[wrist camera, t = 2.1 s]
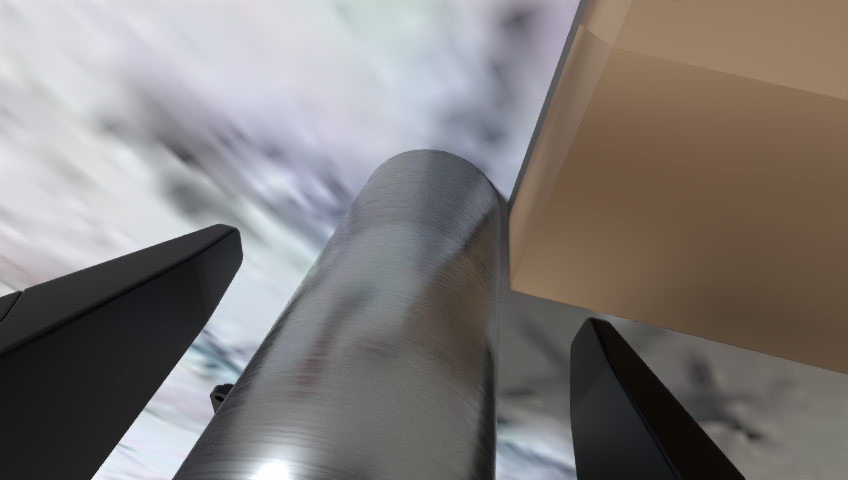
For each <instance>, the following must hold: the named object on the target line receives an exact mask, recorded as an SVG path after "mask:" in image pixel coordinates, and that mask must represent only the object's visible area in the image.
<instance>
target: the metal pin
mask: <svg viewBox="0 0 848 480" xmlns="http://www.w3.org/2000/svg"><path fill="white" fill-rule="evenodd" d="M500 223H501V215H500V205H499V200H498V198H497V195H496V192H495V190H494V188H493V186H492V185H491V183H490V182H489V180H488V179H487V178H486V176H485V175H484V174H483V173H482V172H481V171H480V170H479V169H477V168H476V167H475V166H474V165H472V164H471V163H469V162H468V161H466V160H464V159H463V158H460V157H458V156H456V155H454V154H450V153H447V152H444V151H438V150H427V149H422V150H413V151H408V152H404V153H401V154H399V155H396V156H394V157H392V158H390V159H388V160H387V161H386V162H384V163H383V164H382V165H380V166H379V167H378V168H377V169H376V170H375V172H374V173H373V174H372V176H371V177H370V179H369V180H368V182H367V183H366V185H365V186H364V188H363V189H362V191H361V192H360V194H359V195H358V197H357V199H356V200H355V202H354V203H353V205H352V206H351V208H350V209H349V211H348V212H347V214H346V215H345V217H344V218H343V220H342V221H341V223H340V224H339V226H338V227H337V229H336V231H335V232H334V234H333V235H332V237H331V238H330V240H329V241H328V243H327V244H326V246H325V247H324V249H323V250H322V252H321V253H320V255H319V256H318V258H317V259H316V261H315V263H314V264H313V266H312V267H311V269H310V270H309V272H308V273H307V275H306V276H305V278H304V279H303V281H302V282H301V284H300V285H299V287H298V288H297V290H296V291H295V293H294V294H293V296H292V298H291V299H290V301H289V302H288V304H287V305H286V307H285V308H284V310H283V311H282V313H281V314H280V316H279V317H278V319H277V320H276V322H275V323H274V325H273V326H272V328H271V330H270V331H269V333H268V334H267V336H266V337H265V339H264V340H263V342H262V343H261V345H260V346H259V348H258V349H257V351H256V352H255V354H254V355H253V357H252V358H251V360H250V362H249V363H248V365H247V366H246V368H245V369H244V371H243V372H242V374H241V375H240V377H239V378H238V380H237V381H236V383H235V384H234V386H233V387H232V389H231V390H230V392H229V394H228V395H227V397H226V398H225V400H224V401H223V403H222V404H221V406H220V407H219V409H218V410H217V412H216V413H215V415H214V416H213V418H212V419H211V421H210V422H209V424H208V426H207V427H206V429H205V430H204V432H203V433H202V435H201V436H200V438H199V439H198V441H197V442H196V444H195V445H194V447H193V448H192V450H191V451H190V453H189V454H188V456H187V457H186V459H185V461H184V462H183V464H182V465H181V467H180V468H179V470H178V471H177V473H176V474H175V476H174V477H173V479H172V480H496V441H497V386H498V332H499V277H500Z"/></svg>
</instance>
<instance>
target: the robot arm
mask: <svg viewBox="0 0 848 480" xmlns="http://www.w3.org/2000/svg"><path fill="white" fill-rule="evenodd" d="M242 260H243V251H242V244H241V236H240V232H239V230H238V229H237V228H236V227H232V226H229V225H225V224H216V225H213V226H210V227H207V228H204V229H201V230H198V231H195V232H192V233H190V234H187V235H184V236H181V237H178V238H175V239H172V240H169V241H166V242H163V243H160V244H157V245H154V246H151V247H148V248H145V249H142V250H139V251H136V252H133V253H130V254H127V255H124V256H121V257H118V258H115V259H112V260H109V261H106V262H103V263H100V264H97V265H94V266H92V267H89V268H86V269H83V270H80V271H77V272H74V273H71V274H68V275H65V276H62V277H59V278H56V279H53V280H50V281H47V282H44V283H41V284H38V285H35V286H32V287H29V288H26V289H25V290H24V291H17V292H14V293H11V294H8V295H5V296H2V297H0V480H91V479H92V478H93V476H94V475H95V474H96V472H97V471H98V470H99V468H100V467H101V465H102V464H103V463H104V461H105V460H106V459H107V457H108V456H109V455H110V453H111V452H112V451H113V449H114V448H115V447H116V445H117V444H118V443H119V441H120V440H121V438H122V437H123V436H124V434H125V433H126V432H127V430H128V429H129V428H130V426H131V425H132V424H133V422H134V421H135V420H136V418H137V417H138V416H139V414H140V413H141V411H142V410H143V409H144V407H145V406H146V405H147V403H148V402H149V401H150V399H151V398H152V397H153V395H154V394H155V393H156V391H157V390H158V389H159V387H160V386H161V384H162V383H163V382H164V380H165V379H166V378H167V376H168V375H169V374H170V372H171V371H172V370H173V368H174V367H175V366H176V364H177V363H178V362H179V360H180V359H181V357H182V356H183V355H184V353H185V352H186V351H187V349H188V348H189V347H190V345H191V344H192V343H193V341H194V340H195V339H196V337H197V336H198V335H199V333H200V332H201V330H202V329H203V328H204V326H205V325H206V323H207V322H208V321H209V319H210V317H211V316H212V314H213V313H214V311H215V309H216V307H217V306H218V304H219V302H220V301H221V299H222V297H223V295H224V294H225V292H226V290H227V289H228V287H229V285H230V283H231V282H232V280H233V278H234V277H235V275H236V273H237V271H238V270H239V268H240V266H241V264H242ZM231 389H232V388H231V387H227V386H223V385H217V386H216V387H215V388H214V390H213V391H212V392H211V394H210V398H211V401H212V405H213V409H214V412H215V413H216V412H217V410H218V409H219V407H220V406H221V404H222V403H223V401H224V400H225V398H226V397H227V395H228V394H229V392H230V390H231ZM570 417H571V428H572V437H573V447H574V456H575V465H576V474H577V480H746V479H745V477H744V476H743V475H742V474H741V473H740V472H739V471H738V469H737V468H736V467H735V466H734V465H733V464H732V462H731V461H730V460H729V459H728V458H727V457H726V456H725V454H724V453H723V452H722V451H721V450H720V449H719V448H718V446H717V445H716V444H715V443H714V442H713V441H712V440H711V438H710V437H709V436H708V435H707V434H706V433H705V431H704V430H703V429H702V428H701V427H700V426H699V425H698V423H697V422H696V421H695V420H694V419H693V418H692V417H691V415H690V414H689V413H688V412H687V411H686V410H685V408H684V407H683V406H682V405H681V404H680V403H679V402H678V400H677V399H676V398H675V397H674V396H673V395H672V394H671V392H670V391H669V390H668V389H667V388H666V387H665V385H664V384H663V383H662V382H661V381H660V380H659V379H658V377H657V376H656V375H655V374H654V373H653V372H652V371H651V369H650V368H649V367H648V366H647V365H646V364H645V362H644V361H643V360H642V359H641V358H640V357H639V356H638V354H637V353H636V352H635V351H634V350H633V349H632V348H631V346H630V345H629V344H628V343H627V342H626V341H625V339H624V338H623V337H622V336H621V335H620V334H619V333H618V331H617V330H616V329H615V328H614V327H613V326H612V325H611V324H610V323H609V322H608V321H606V320H602V319H598V318H594V317H589V318H587V319H586V320H585V322H584V323H583V325H582V327H581V328H580V330H579V331H578V333H577V334H576V336H575V338H574V339H573V341H572V344H571V350H570Z"/></svg>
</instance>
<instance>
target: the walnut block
mask: <svg viewBox="0 0 848 480" xmlns="http://www.w3.org/2000/svg"><path fill="white" fill-rule="evenodd" d="M508 223H509V290H513V291H517V292H521V293H525V294H529V295H533V296H537V297H541V298H545V299H549V300H553V301H557V302H561V303H565V304H569V305H573V306H577V307H581V308H585V309H589V310H593V311H597V312H601V313H605V314H609V315H613V316H617V317H621V318H625V319H629V320H633V321H637V322H641V323H645V324H649V325H653V326H657V327H661V328H665V329H669V330H673V331H677V332H681V333H685V334H689V335H692V336H696V337H700V338H704V339H708V340H712V341H716V342H720V343H724V344H728V345H732V346H736V347H740V348H744V349H748V350H752V351H756V352H760V353H764V354H768V355H772V356H776V357H780V358H784V359H788V360H792V361H796V362H800V363H804V364H808V365H812V366H816V367H820V368H824V369H828V370H832V371H836V372H840V373H844V374H848V0H581V1H580V4H579V6H578V9H577V12H576V15H575V18H574V20H573V23H572V26H571V29H570V32H569V34H568V37H567V40H566V43H565V46H564V48H563V51H562V54H561V57H560V60H559V62H558V65H557V68H556V71H555V74H554V76H553V79H552V82H551V85H550V88H549V90H548V93H547V96H546V99H545V102H544V104H543V107H542V110H541V113H540V116H539V118H538V121H537V124H536V127H535V130H534V132H533V135H532V138H531V141H530V144H529V146H528V149H527V152H526V155H525V158H524V160H523V163H522V166H521V169H520V172H519V174H518V177H517V180H516V183H515V186H514V188H513V191H512V194H511V197H510V200H509V202H508Z"/></svg>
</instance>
